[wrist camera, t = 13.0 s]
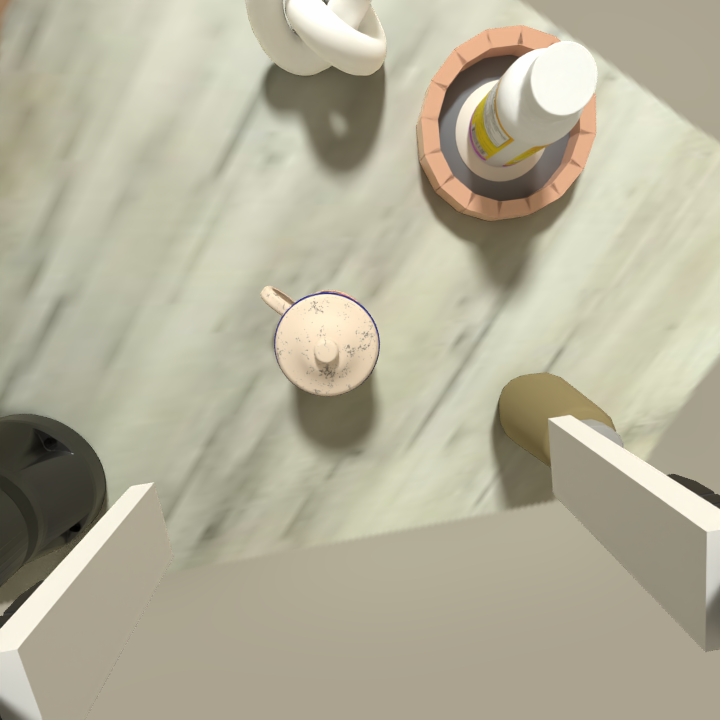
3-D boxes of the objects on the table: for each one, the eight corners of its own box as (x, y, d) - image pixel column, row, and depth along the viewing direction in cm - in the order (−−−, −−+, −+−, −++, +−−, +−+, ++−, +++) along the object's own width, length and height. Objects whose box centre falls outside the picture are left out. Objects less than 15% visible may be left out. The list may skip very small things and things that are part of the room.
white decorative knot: (420, 44, 43) (441, -12, 34) (324, 134, 44) (319, 101, 35) (340, -65, 41) (341, -156, 32) (242, 31, 42) (215, -30, 33)
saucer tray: (425, 229, 46) (430, 226, 43) (409, 52, 43) (414, 38, 40) (582, 209, 46) (597, 205, 44) (578, 32, 43) (594, 16, 40)
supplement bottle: (546, 110, 43) (630, 48, 31) (517, 179, 45) (587, 147, 32) (482, 81, 43) (542, 6, 30) (454, 153, 44) (501, 109, 31)
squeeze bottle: (552, 438, 51) (662, 529, 34) (482, 431, 51) (556, 519, 33) (567, 369, 50) (691, 426, 32) (495, 360, 49) (581, 414, 32)
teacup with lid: (390, 324, 48) (406, 342, 37) (337, 390, 49) (336, 428, 38) (298, 250, 46) (284, 246, 35) (245, 321, 47) (215, 339, 36)
